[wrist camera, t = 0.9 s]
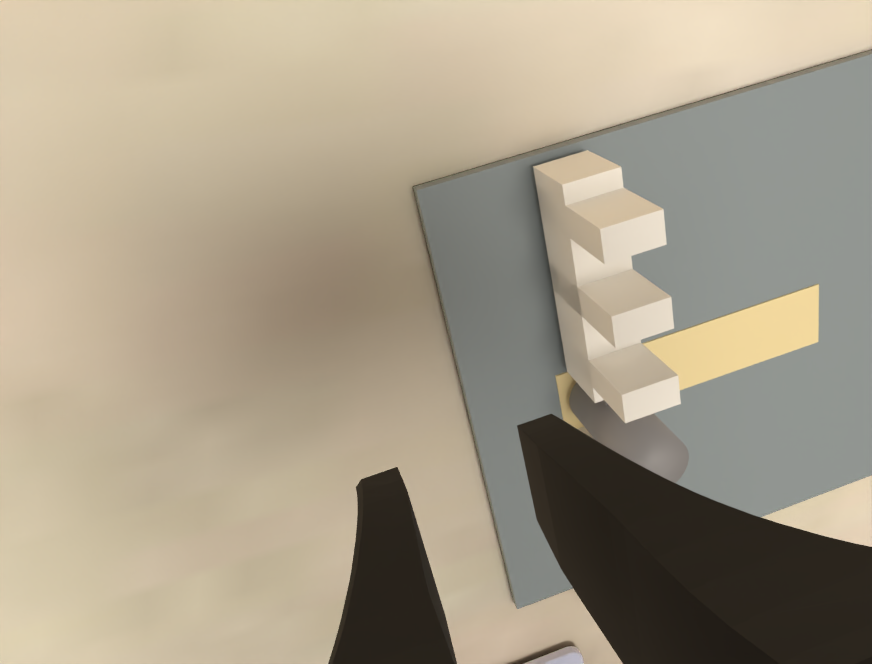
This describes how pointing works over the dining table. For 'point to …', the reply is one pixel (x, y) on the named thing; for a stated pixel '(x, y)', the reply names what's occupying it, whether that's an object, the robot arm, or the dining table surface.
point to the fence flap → (610, 308)
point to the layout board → (686, 297)
